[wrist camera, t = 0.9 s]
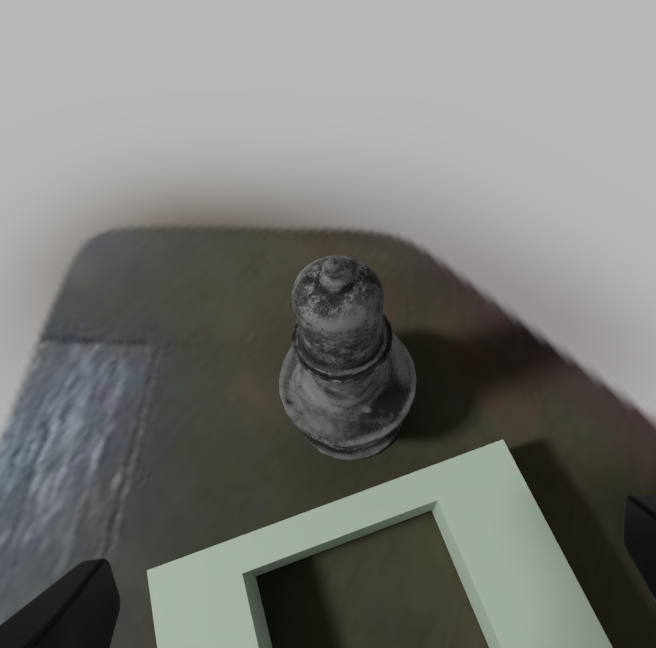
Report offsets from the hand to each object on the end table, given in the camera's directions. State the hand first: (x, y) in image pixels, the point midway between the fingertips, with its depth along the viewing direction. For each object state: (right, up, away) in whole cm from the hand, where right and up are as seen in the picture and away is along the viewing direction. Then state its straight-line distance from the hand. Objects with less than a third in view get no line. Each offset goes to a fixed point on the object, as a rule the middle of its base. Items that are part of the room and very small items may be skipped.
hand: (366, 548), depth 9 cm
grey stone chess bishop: (0, 0, +16) cm, 16 cm away
